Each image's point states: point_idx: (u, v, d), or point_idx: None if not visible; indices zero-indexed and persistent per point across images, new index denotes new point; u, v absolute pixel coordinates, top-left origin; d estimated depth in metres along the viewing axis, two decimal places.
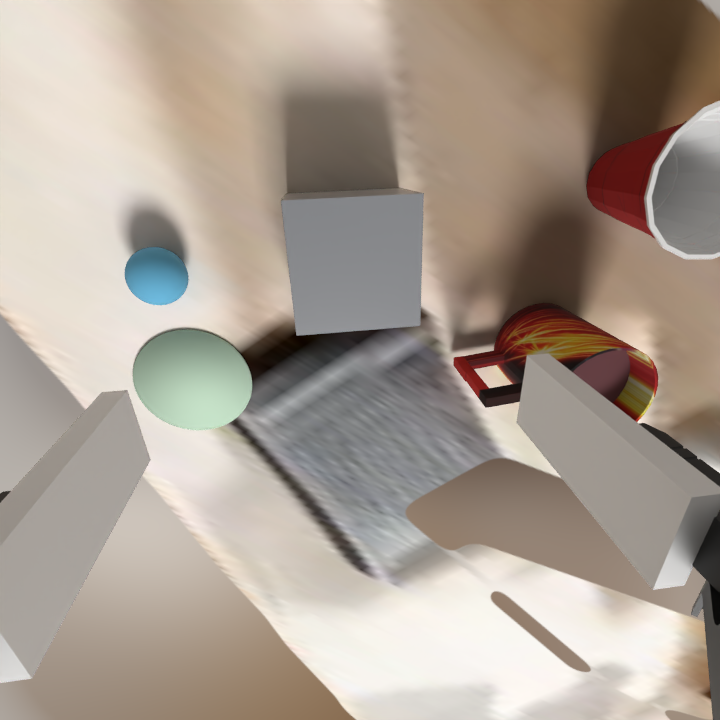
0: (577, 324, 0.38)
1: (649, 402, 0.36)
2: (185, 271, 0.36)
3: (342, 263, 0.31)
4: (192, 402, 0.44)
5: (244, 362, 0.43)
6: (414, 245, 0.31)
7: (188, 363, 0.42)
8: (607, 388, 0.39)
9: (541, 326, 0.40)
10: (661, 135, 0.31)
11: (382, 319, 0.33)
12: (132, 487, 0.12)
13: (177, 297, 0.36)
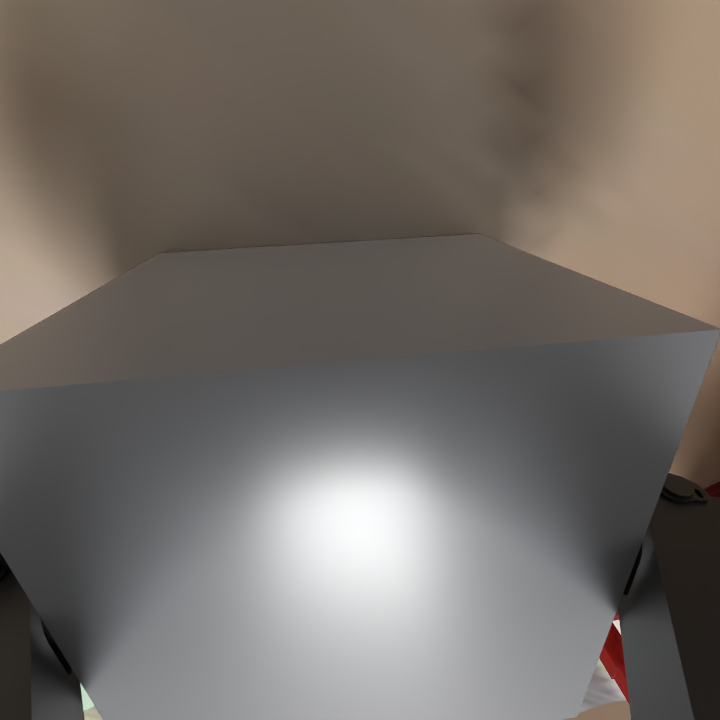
0: None
1: None
2: None
3: (302, 607, 0.07)
4: None
5: None
6: (617, 527, 0.07)
7: None
8: None
9: None
10: None
11: None
12: None
13: None
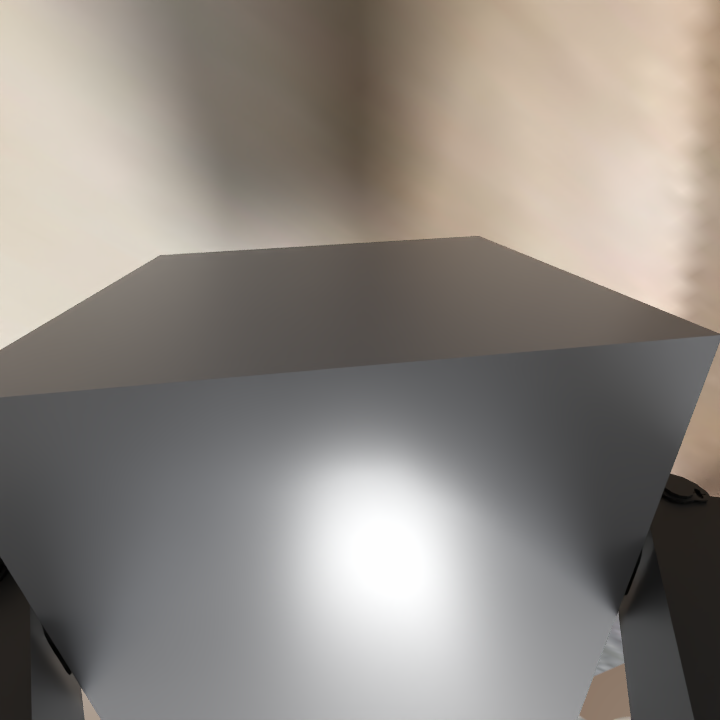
0: None
1: None
2: None
3: (302, 612, 0.07)
4: None
5: None
6: (617, 531, 0.07)
7: None
8: None
9: None
10: None
11: None
12: None
13: None
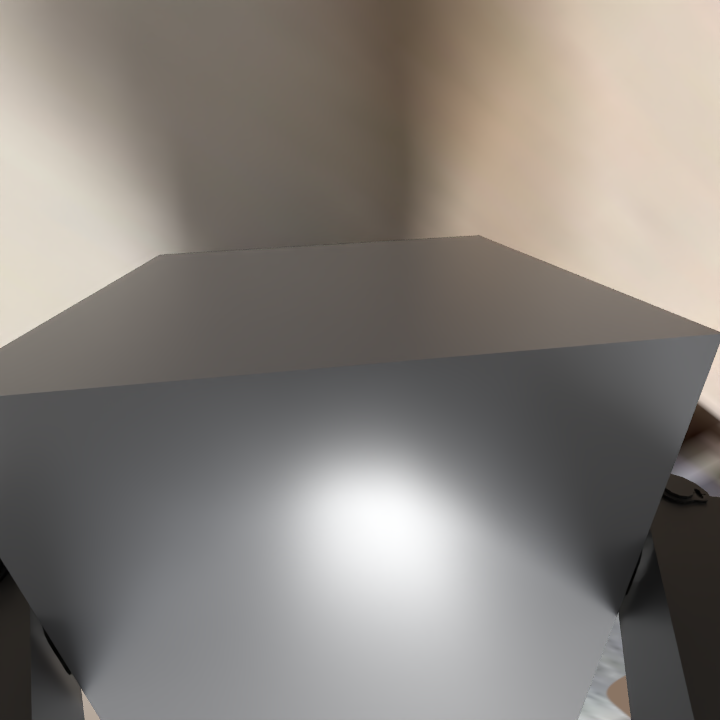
0: None
1: None
2: None
3: (302, 611, 0.07)
4: None
5: None
6: (618, 531, 0.07)
7: None
8: None
9: None
10: None
11: None
12: None
13: None
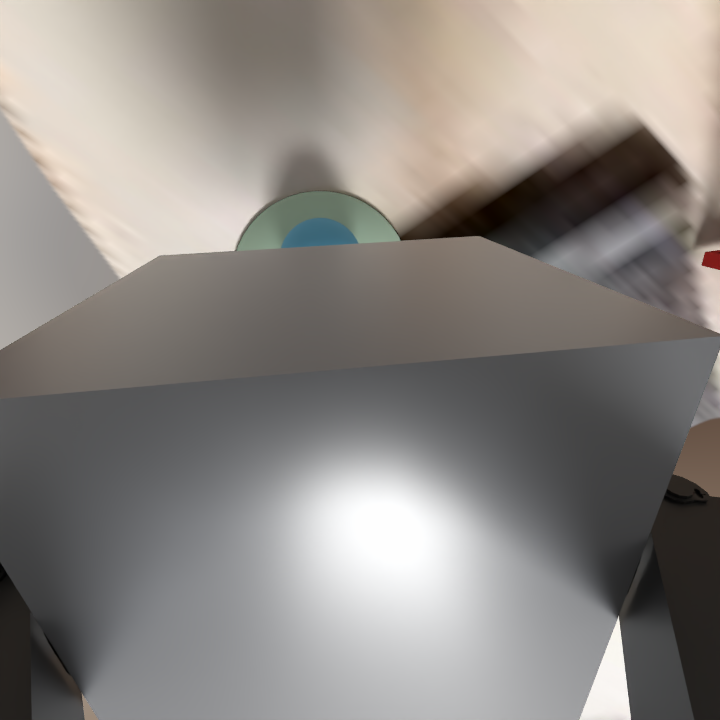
0: None
1: None
2: None
3: (302, 614, 0.07)
4: None
5: None
6: (619, 533, 0.07)
7: None
8: None
9: None
10: None
11: None
12: None
13: (345, 228, 0.23)
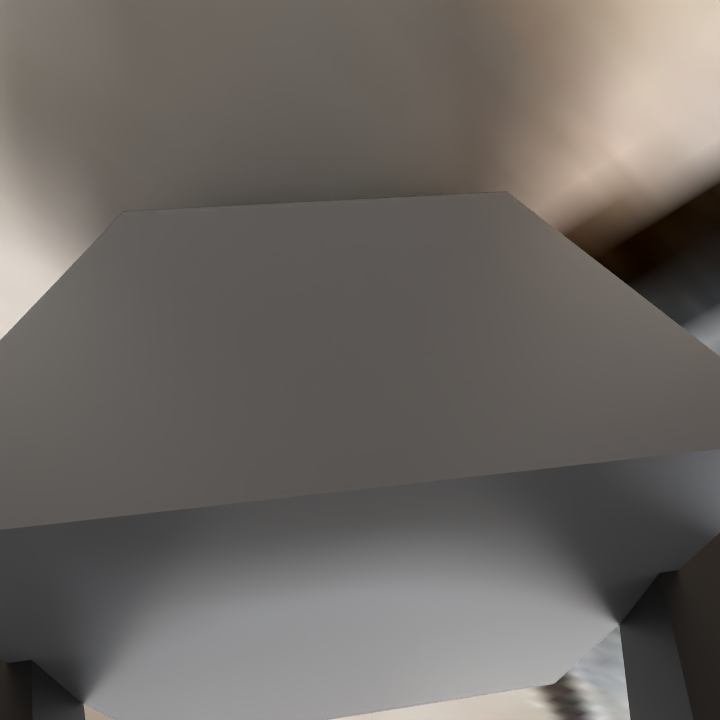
0: None
1: None
2: None
3: (305, 651, 0.07)
4: None
5: None
6: (634, 584, 0.07)
7: None
8: None
9: None
10: None
11: (443, 694, 0.10)
12: None
13: None
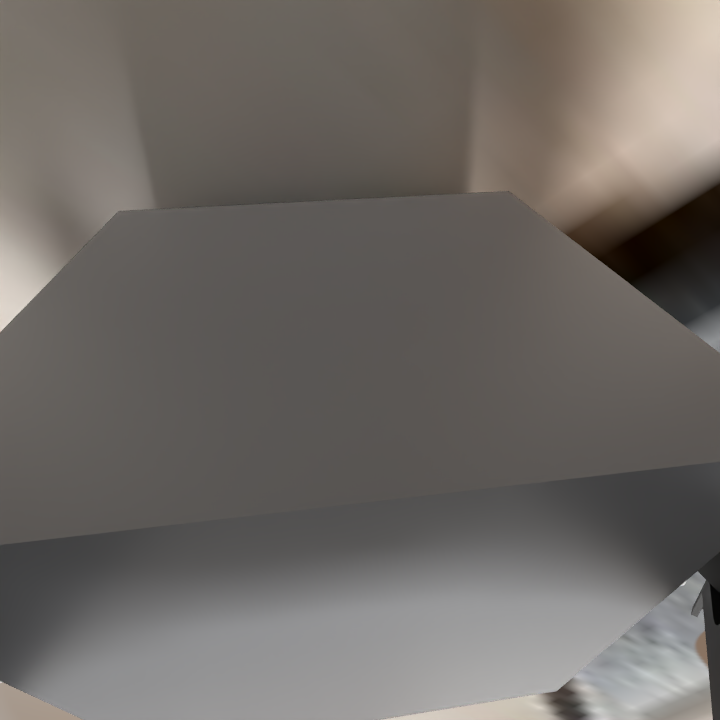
0: None
1: None
2: None
3: (303, 663, 0.07)
4: None
5: None
6: (641, 594, 0.07)
7: None
8: None
9: None
10: None
11: (444, 702, 0.10)
12: None
13: None
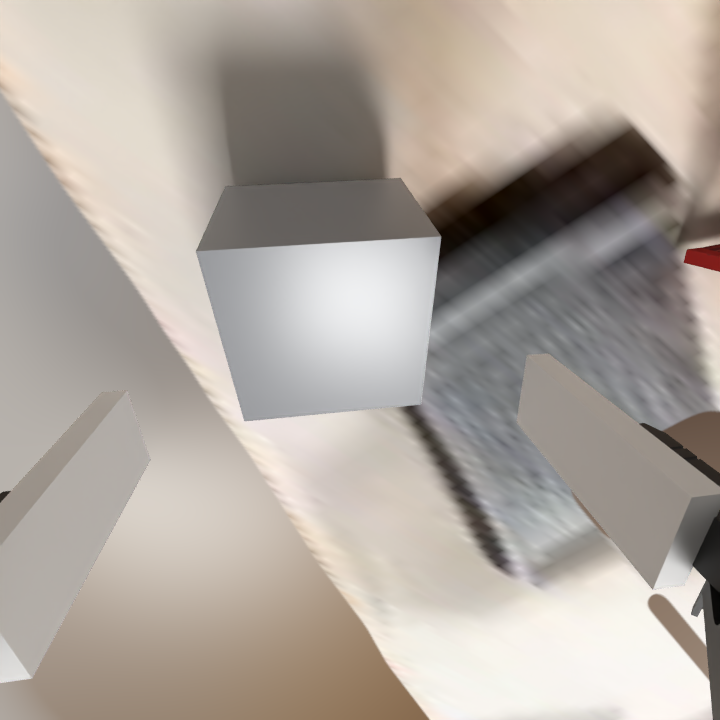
0: None
1: None
2: None
3: (307, 336, 0.20)
4: None
5: None
6: (420, 310, 0.20)
7: None
8: None
9: None
10: None
11: (367, 399, 0.23)
12: (132, 487, 0.12)
13: None
